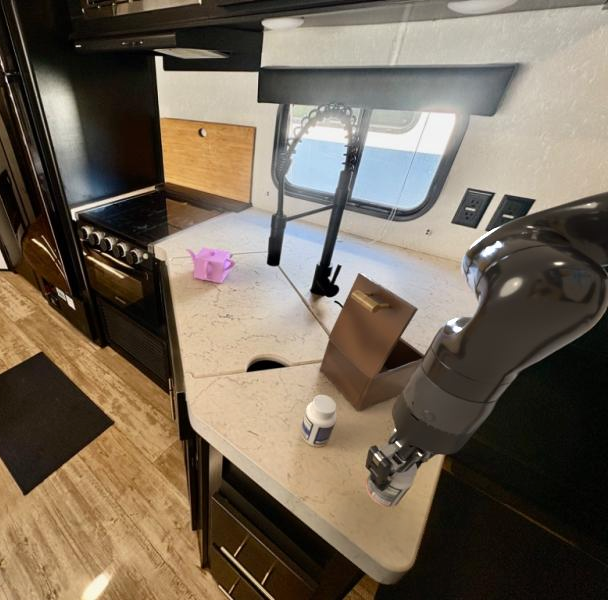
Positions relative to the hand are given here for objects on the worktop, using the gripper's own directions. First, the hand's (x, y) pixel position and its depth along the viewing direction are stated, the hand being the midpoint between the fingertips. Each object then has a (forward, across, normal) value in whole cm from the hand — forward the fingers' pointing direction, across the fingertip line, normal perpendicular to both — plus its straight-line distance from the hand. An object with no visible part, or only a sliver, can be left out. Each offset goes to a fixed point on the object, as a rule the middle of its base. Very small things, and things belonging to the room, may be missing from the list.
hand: (391, 476), depth 45 cm
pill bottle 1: (+10, 0, -14) cm, 17 cm away
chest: (+10, -19, -21) cm, 30 cm away
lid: (-8, -13, -21) cm, 26 cm away
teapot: (+9, -4, -78) cm, 78 cm away
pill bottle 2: (+5, 0, 0) cm, 5 cm away
